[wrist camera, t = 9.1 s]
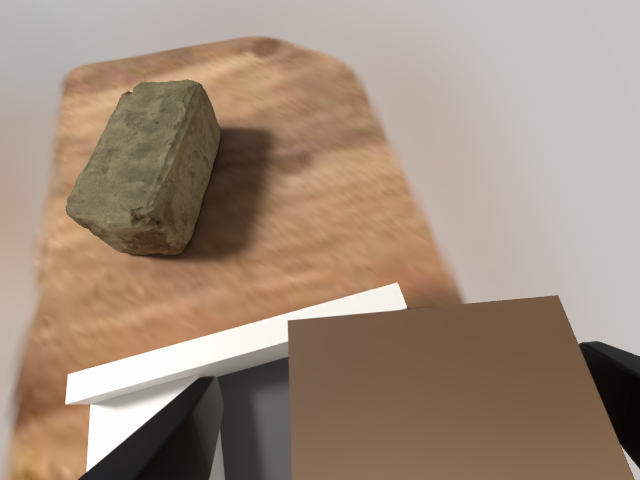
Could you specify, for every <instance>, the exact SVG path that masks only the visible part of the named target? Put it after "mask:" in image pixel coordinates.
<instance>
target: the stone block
mask: <svg viewBox="0 0 640 480" xmlns="http://www.w3.org/2000/svg"><path fill="white" fill-rule="evenodd" d="M220 133H221V131H220V128H219V125H218V123H217V120H216V117H215V113H214V110H213V107H212V104H211V102H210V100H209V98H208V95H207V93H206V91H205V90H204V89H203V87H202V85H201V84H199V83H197V82H195V81H192V80H188V79H187V80H182V81H168V82H141V83H139V84H138V85H137V86H136V87H134V89H133V93H132V92H129V91H128V92H126V93H124V94H122V95H121V97H120V100H119V102H118V104H117V107H116V110H115V111H114V112H113V113H112V115H111V116H110V119H109V121H108V124H107V126H106V128H105V130H104V131H103V134H102V136H101V138H100V140H99V142H98V144H97V145H96V148H95V150H94V152H93V154H92V156H91V158H90V160H89V162H88V163H87V165H86V166H85V168H84V169H83V171H82V172H81V173H80V175H79V177H78V178H77V180H76V183H75V187H74V189H73V191H72V193H71V194H70V196H69V197H68V199H67V205H66V213H67V215H68V216H70V217H71V218H72V219H73V220H74V221H75V222H77V223H78V224H79V225H81V226H82V227H84V228H87V229H89V230H90V232H91V233H93V234H94V235H96V236H98V237H99V238H100V239H101V240H103V241H104V242H105V243H107V244H108V245H110V246H111V247H112V248H114V249H115V250H117V251H119V252H122V253H129V254H141V255H147V254H154V253H161V254H179V253H181V252H183V251H184V249H185V247H186V245H187V243H188V242H189V241H190V239H191V237H192V234H193V231H194V226H195V223H196V221H197V219H198V216H199V212H200V208H201V204H202V200H203V197H204V193H205V191H206V189H207V186H208V183H209V179H210V176H211V172H212V168H213V163H214V160H215V158H216V155H217V151H218V147H219V142H220Z"/></svg>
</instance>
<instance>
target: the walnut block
mask: <svg viewBox="0 0 640 480" xmlns="http://www.w3.org/2000/svg"><path fill="white" fill-rule="evenodd" d="M288 354H289V391H290V428H291V464H292V480H635V479H634V477H633V474H632V472H631V469H630V467H629V465H628V463H627V460H626V457H625V455H624V453H623V450H622V448H621V445H620V443H619V441H618V438H617V436H616V433H615V431H614V429H613V426H612V424H611V421H610V419H609V417H608V414H607V412H606V409H605V407H604V405H603V402H602V400H601V397H600V395H599V393H598V390H597V388H596V385H595V383H594V381H593V378H592V376H591V373H590V371H589V369H588V366H587V364H586V361H585V359H584V357H583V354H582V352H581V349H580V347H579V345H578V342H577V340H576V337H575V335H574V333H573V330H572V328H571V325H570V323H569V321H568V318H567V316H566V313H565V311H564V309H563V307H562V304H561V301H560V299H559V297H558V295H556V296H547V297H535V298H524V299H514V300H502V301H492V302H481V303H470V304H459V305H449V306H438V307H427V308H416V309H405V310H395V311H384V312H373V313H362V314H351V315H341V316H330V317H319V318H308V319H297V320H288Z"/></svg>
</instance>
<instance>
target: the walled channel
mask: <svg viewBox="0 0 640 480" xmlns="http://www.w3.org/2000/svg"><path fill="white" fill-rule="evenodd" d="M405 309H407V306H406V303H405V301H404V298H403V296H402V293H401V290H400V288H399V285H398V283H394V284H391V285H387V286H384V287H380V288H376V289H373V290H369V291H366V292H362V293H358V294H355V295H351V296H348V297H344V298H341V299H337V300H333V301H330V302H326V303H323V304H319V305H315V306H312V307H308V308H305V309H301V310H297V311H294V312H290V313H287V314H283V315H280V316H276V317H272V318H269V319H265V320H262V321H258V322H254V323H251V324H247V325H244V326H240V327H236V328H233V329H229V330H226V331H222V332H219V333H215V334H211V335H208V336H204V337H201V338H197V339H193V340H190V341H186V342H183V343H179V344H175V345H172V346H168V347H165V348H161V349H158V350H154V351H150V352H147V353H143V354H140V355H136V356H132V357H129V358H125V359H122V360H118V361H114V362H111V363H107V364H104V365H100V366H96V367H93V368H89V369H86V370H82V371H79V372H75V373H71V374H68V382H67V393H66V403H65V404H91V407H90V423H89V439H88V456H87V471H89V470H90V469H91V468H92V467H93V466H95V465H96V464H97V463H98V462H99V461H100V460H102V459H103V458H104V457H105V456H106V455H108V454H109V453H110V452H111V451H112V450H113V449H115V448H116V447H117V446H118V445H119V444H121V443H122V442H123V441H124V440H125V439H127V438H128V437H129V436H130V435H131V434H132V433H134V432H135V431H136V430H137V429H138V428H140V427H141V426H142V425H143V424H144V423H145V422H147V421H148V420H149V419H150V418H151V417H153V416H154V415H155V414H156V413H157V412H158V411H160V410H161V409H162V408H163V407H164V406H166V405H167V404H168V403H169V402H170V401H171V400H173V399H174V398H175V397H176V396H177V395H179V394H180V393H181V392H182V391H183V390H185V389H186V388H187V387H188V386H189V385H190V384H192V383H193V382H194V381H195V380H196V379H198V378H199V377H203V376H215V377H216V378H217V379H218V382H219V386H220V390H221V394H222V398H223V404H224V407H223V414H222V420H221V425H220V430H219V435H218V440H217V445H216V450H215V455H214V460H213V465H212V470H211V474H210V478H209V480H292V464H291V428H290V391H289V354H288V320H297V319H308V318H319V317H330V316H341V315H351V314H362V313H373V312H384V311H395V310H405Z"/></svg>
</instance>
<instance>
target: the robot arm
mask: <svg viewBox="0 0 640 480" xmlns="http://www.w3.org/2000/svg"><path fill="white" fill-rule="evenodd" d="M579 347H580V349H581V352H582V354H583V357H584V359H585V361H586V364H587V366H588V369H589V371H590V373H591V376H592V378H593V381H594V383H595V385H596V388H597V390H598V393H599V395H600V397H601V400H602V402H603V405H604V407H605V409H606V412H607V414H608V417H609V419H610V421H611V424H612V426H613V429H614V431H615V433H616V436H617V438H618V441H619V443H620V445H621V446H622V447H623V449H624V450H625V451H626V452H627V454H628V455H629V456H630V457H631V459H632V460H633V461H634V462H635V464H636V465H637V466H638V467H639V469H640V356H637V355H634V354H632V353H629V352H626V351H624V350H621V349H618V348H615V347H613V346H610V345H607V344H605V343H602V342H598V341H593V342H583V343H580V344H579ZM223 407H224V404H223V398H222V394H221V390H220V386H219V382H218V379H217V378H216V377H215V376H203V377H199V378H198V379H196V380H195V381H194V382H193V383H192V384H190V385H189V386H188V387H187V388H186V389H185V390H183V391H182V392H181V393H180V394H179V395H177V396H176V397H175V398H174V399H173V400H171V401H170V402H169V403H168V404H167V405H166V406H164V407H163V408H162V409H161V410H160V411H158V412H157V413H156V414H155V415H154V416H153V417H151V418H150V419H149V420H148V421H147V422H145V423H144V424H143V425H142V426H141V427H140V428H138V429H137V430H136V431H135V432H134V433H132V434H131V435H130V436H129V437H128V438H127V439H125V440H124V441H123V442H122V443H121V444H119V445H118V446H117V447H116V448H115V449H113V450H112V451H111V452H110V453H109V454H108V455H106V456H105V457H104V458H103V459H102V460H100V461H99V462H98V463H97V464H96V465H95V466H93V467H92V468H91V469H90V470H89V471H87V472H86V473H85V474H84V475H83V476H81V477H80V478H79V479H78V480H209V478H210V474H211V470H212V465H213V460H214V455H215V450H216V445H217V440H218V435H219V430H220V425H221V420H222V414H223Z"/></svg>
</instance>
